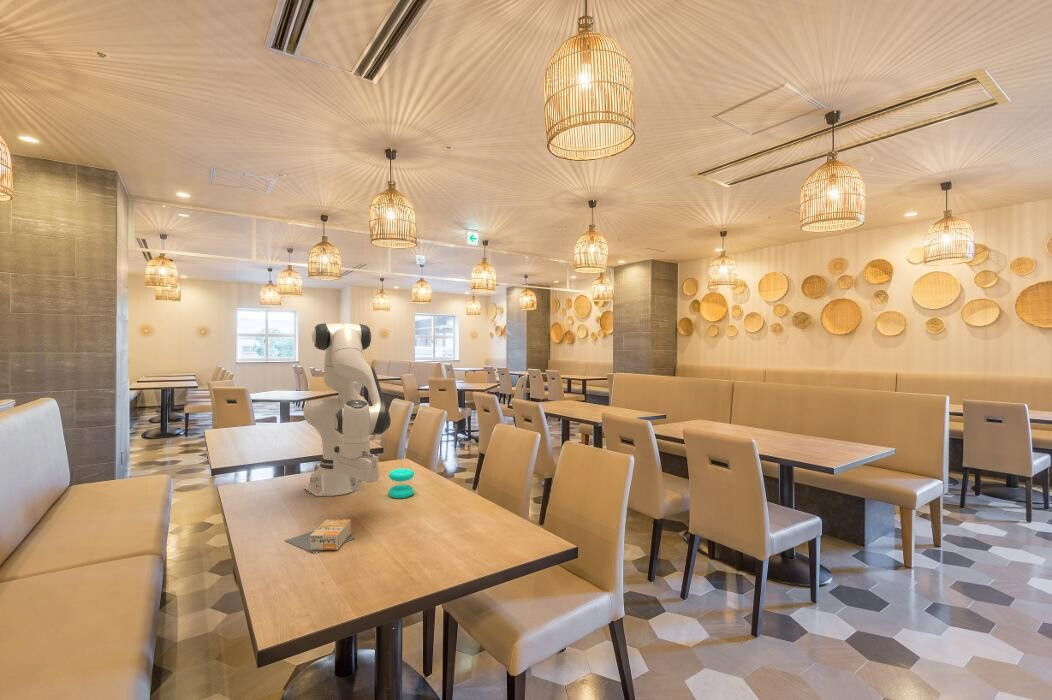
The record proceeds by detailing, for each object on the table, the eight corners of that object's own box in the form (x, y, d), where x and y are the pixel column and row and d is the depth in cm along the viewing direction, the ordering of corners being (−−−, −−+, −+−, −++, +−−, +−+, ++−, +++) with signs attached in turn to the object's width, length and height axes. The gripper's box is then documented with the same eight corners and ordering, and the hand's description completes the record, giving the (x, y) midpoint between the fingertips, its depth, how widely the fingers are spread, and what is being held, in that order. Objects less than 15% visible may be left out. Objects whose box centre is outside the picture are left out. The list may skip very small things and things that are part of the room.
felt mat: (284, 541, 150) (284, 540, 150) (325, 527, 162) (325, 526, 162) (314, 554, 141) (314, 553, 141) (355, 538, 153) (355, 538, 153)
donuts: (395, 467, 203) (418, 468, 201) (395, 490, 204) (417, 492, 202) (384, 473, 194) (407, 474, 192) (384, 498, 194) (407, 500, 192)
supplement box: (351, 518, 157) (338, 534, 144) (351, 533, 157) (338, 550, 144) (325, 518, 156) (309, 534, 143) (325, 533, 156) (309, 551, 143)
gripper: (383, 452, 159) (383, 494, 160) (346, 443, 171) (345, 481, 171) (367, 456, 154) (367, 499, 154) (329, 446, 165) (329, 486, 166)
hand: (355, 490), depth 163 cm, fingers closed
